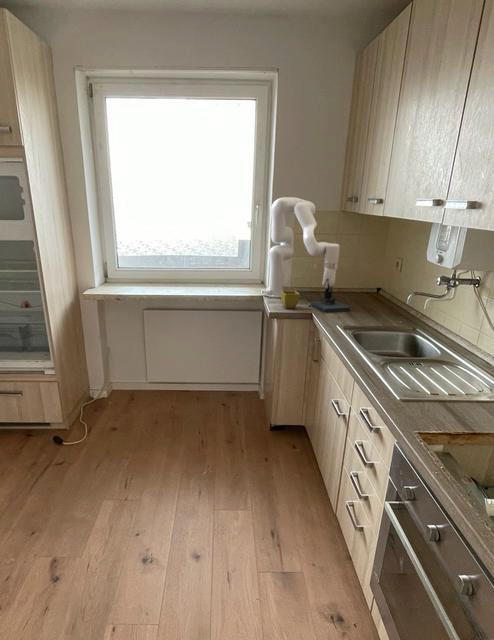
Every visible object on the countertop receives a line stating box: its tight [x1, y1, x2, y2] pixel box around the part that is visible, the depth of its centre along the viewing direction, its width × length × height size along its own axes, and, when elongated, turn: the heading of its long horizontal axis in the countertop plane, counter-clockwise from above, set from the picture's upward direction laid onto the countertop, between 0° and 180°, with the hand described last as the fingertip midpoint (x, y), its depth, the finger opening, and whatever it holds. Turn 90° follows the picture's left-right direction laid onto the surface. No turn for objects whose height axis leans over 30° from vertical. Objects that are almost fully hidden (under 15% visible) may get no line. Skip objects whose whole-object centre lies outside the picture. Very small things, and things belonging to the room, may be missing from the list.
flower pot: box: [280, 290, 301, 309], centre depth 242 cm, size 9×9×9 cm
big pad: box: [311, 300, 351, 313], centre depth 243 cm, size 16×16×2 cm
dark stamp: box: [319, 288, 336, 304], centre depth 244 cm, size 6×6×8 cm
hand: (327, 297), depth 245 cm, fingers closed on dark stamp, 2 cm apart
